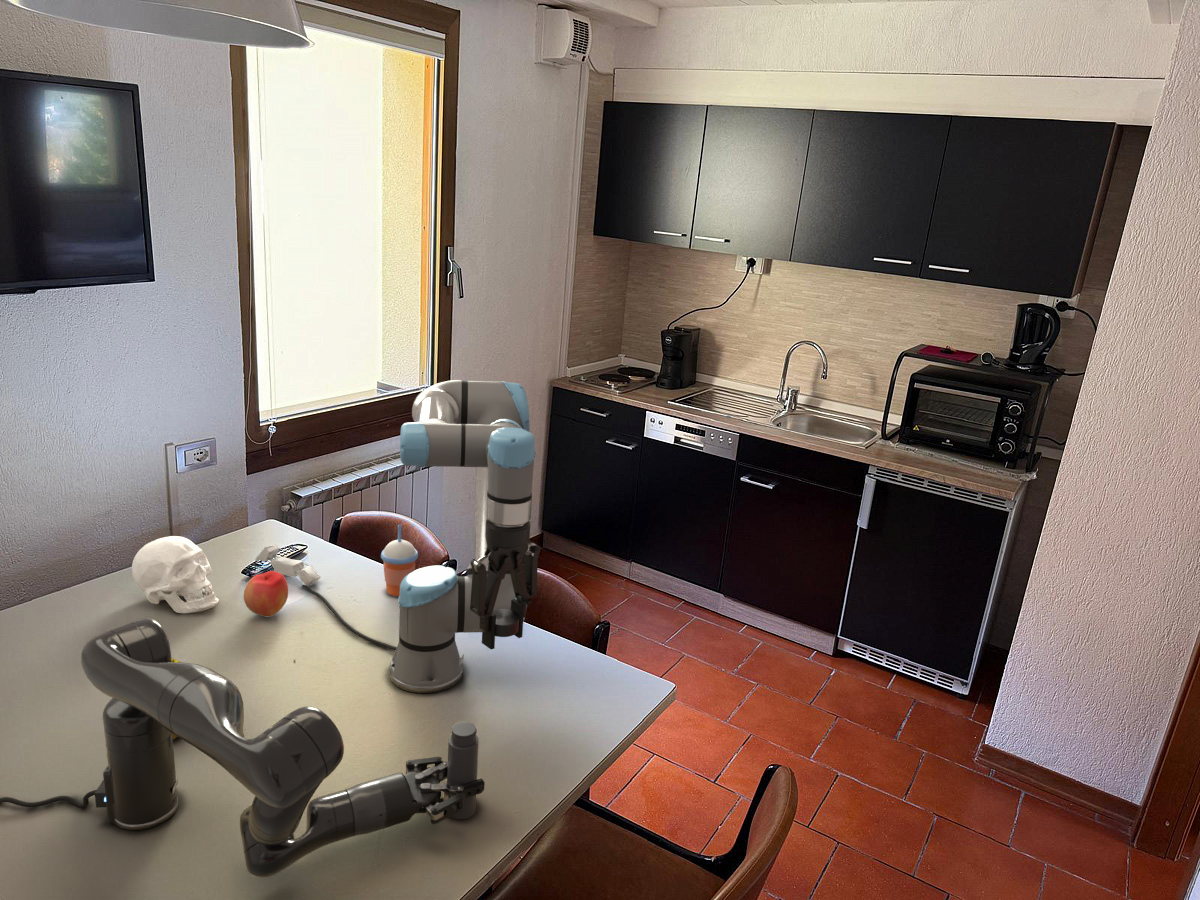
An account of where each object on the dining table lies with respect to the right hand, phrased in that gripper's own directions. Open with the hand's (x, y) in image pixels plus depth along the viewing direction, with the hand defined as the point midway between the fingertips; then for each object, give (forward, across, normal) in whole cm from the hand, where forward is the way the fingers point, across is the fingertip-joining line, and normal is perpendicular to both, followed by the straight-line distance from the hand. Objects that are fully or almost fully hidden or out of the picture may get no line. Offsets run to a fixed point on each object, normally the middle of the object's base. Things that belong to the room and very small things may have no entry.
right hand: (502, 639), depth 151 cm
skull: (+25, +24, -91) cm, 98 cm away
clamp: (+26, -2, -90) cm, 94 cm away
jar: (+24, +14, +8) cm, 29 cm away
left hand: (+18, +11, +8) cm, 23 cm away
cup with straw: (+25, -20, -66) cm, 74 cm away
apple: (+25, +11, -74) cm, 79 cm away
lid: (-4, 0, 0) cm, 4 cm away
